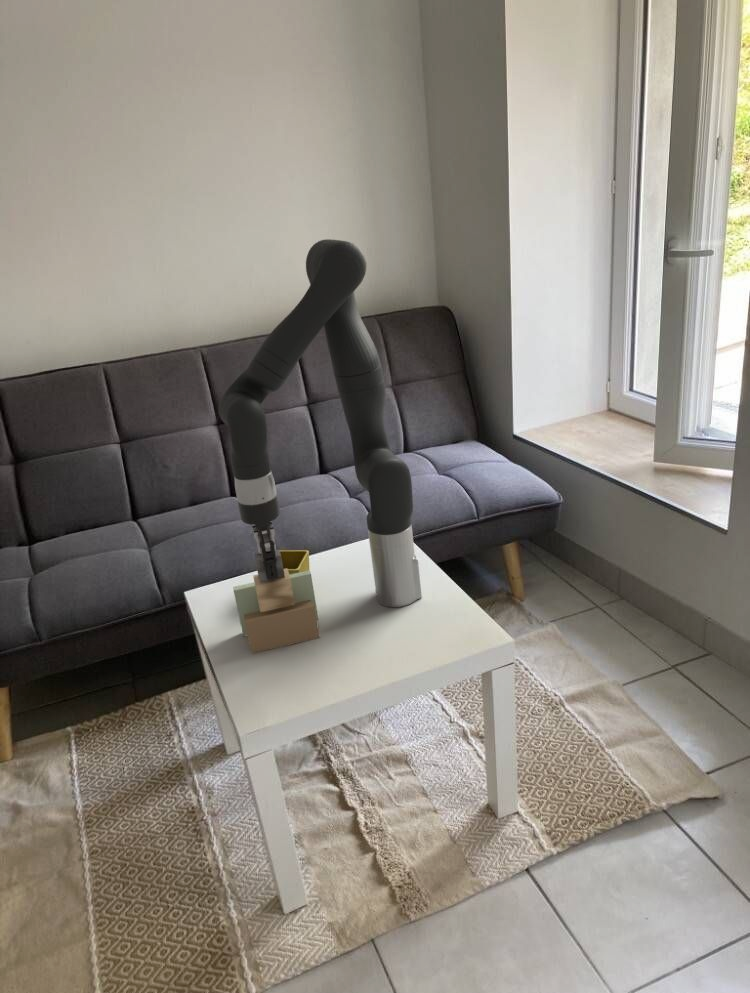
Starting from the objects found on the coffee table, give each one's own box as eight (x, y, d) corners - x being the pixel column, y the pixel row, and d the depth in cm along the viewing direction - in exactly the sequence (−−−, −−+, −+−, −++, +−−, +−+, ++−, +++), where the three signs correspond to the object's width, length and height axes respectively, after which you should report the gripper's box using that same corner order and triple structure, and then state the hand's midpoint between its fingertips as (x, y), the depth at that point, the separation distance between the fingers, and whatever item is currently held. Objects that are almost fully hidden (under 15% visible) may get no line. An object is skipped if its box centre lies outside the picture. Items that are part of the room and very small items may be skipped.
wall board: (317, 615, 168) (309, 570, 164) (324, 636, 160) (316, 589, 156) (242, 632, 165) (233, 587, 161) (246, 654, 158) (236, 607, 153)
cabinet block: (291, 593, 162) (283, 546, 158) (295, 604, 158) (286, 556, 153) (258, 601, 161) (248, 553, 156) (260, 612, 157) (250, 563, 152)
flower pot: (304, 605, 173) (298, 569, 169) (266, 605, 175) (259, 569, 171) (315, 584, 180) (309, 550, 177) (279, 584, 182) (272, 550, 179)
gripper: (281, 504, 144) (295, 586, 151) (271, 478, 157) (285, 555, 164) (240, 513, 143) (256, 595, 150) (234, 486, 156) (249, 562, 162)
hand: (271, 573), depth 157 cm, fingers closed on cabinet block, 2 cm apart
